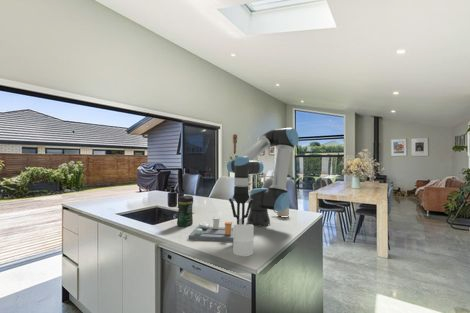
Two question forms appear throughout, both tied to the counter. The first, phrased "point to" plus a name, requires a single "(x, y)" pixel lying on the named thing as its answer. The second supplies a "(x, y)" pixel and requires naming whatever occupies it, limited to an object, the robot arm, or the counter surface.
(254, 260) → the counter surface
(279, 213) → the teacup with lid
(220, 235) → the panel
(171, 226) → the counter surface
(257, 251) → the counter surface
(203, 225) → the light grey flat piece
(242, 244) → the cylinder with rectangular tab
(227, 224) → the slider
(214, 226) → the slider
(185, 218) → the coffee jar
